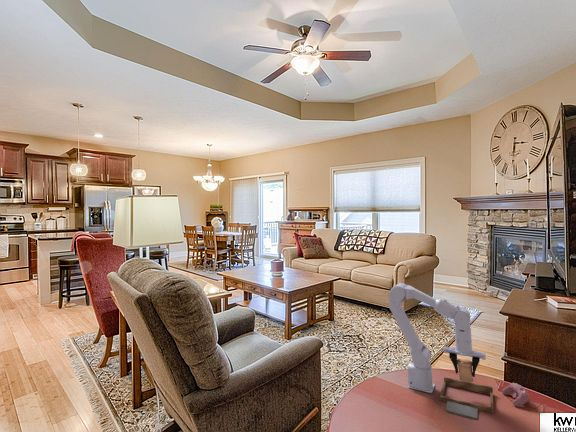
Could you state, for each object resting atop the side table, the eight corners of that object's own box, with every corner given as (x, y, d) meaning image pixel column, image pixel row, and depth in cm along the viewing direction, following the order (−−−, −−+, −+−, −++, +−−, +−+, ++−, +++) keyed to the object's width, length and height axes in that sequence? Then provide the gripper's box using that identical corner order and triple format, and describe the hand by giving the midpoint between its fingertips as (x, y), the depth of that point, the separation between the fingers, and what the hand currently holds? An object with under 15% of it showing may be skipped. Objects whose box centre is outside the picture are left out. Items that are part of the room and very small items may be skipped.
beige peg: (458, 381, 122) (456, 362, 122) (459, 375, 126) (457, 357, 127) (473, 383, 119) (471, 365, 119) (474, 377, 123) (472, 360, 124)
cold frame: (439, 400, 121) (439, 392, 121) (444, 383, 133) (443, 376, 133) (493, 413, 111) (492, 404, 111) (493, 394, 124) (492, 386, 124)
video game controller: (525, 412, 114) (534, 395, 113) (513, 405, 115) (521, 389, 114) (512, 398, 123) (519, 382, 123) (500, 392, 124) (507, 376, 124)
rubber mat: (445, 411, 113) (445, 409, 113) (447, 402, 119) (447, 400, 119) (477, 420, 108) (477, 418, 108) (477, 409, 114) (477, 408, 114)
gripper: (441, 339, 124) (443, 373, 123) (484, 346, 116) (486, 382, 115) (444, 334, 130) (445, 367, 129) (484, 340, 122) (486, 375, 121)
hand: (465, 374), depth 123 cm, fingers closed on beige peg, 5 cm apart
